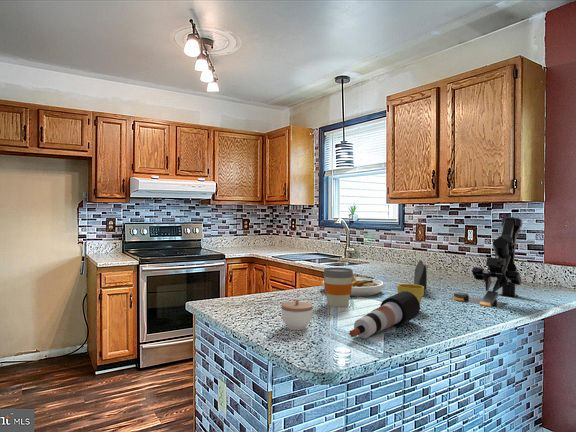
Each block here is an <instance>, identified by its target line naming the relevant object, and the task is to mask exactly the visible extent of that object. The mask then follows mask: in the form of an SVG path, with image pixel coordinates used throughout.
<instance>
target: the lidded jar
mask: <svg viewBox="0 0 576 432" xmlns="http://www.w3.org/2000/svg"><path fill="white" fill-rule="evenodd" d="M280 307H281V318H282V321H283V323H284V325H285V326H286V327H287V328H288V330H293V331H302V330H305V329H306V328H307V327H308V326H309V325H310V323H311V321H312V317H313V309H314V305H313V303H310V302H306V301H299V299H295V301H287V302H283V303H282V304H281V306H280Z"/></svg>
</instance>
